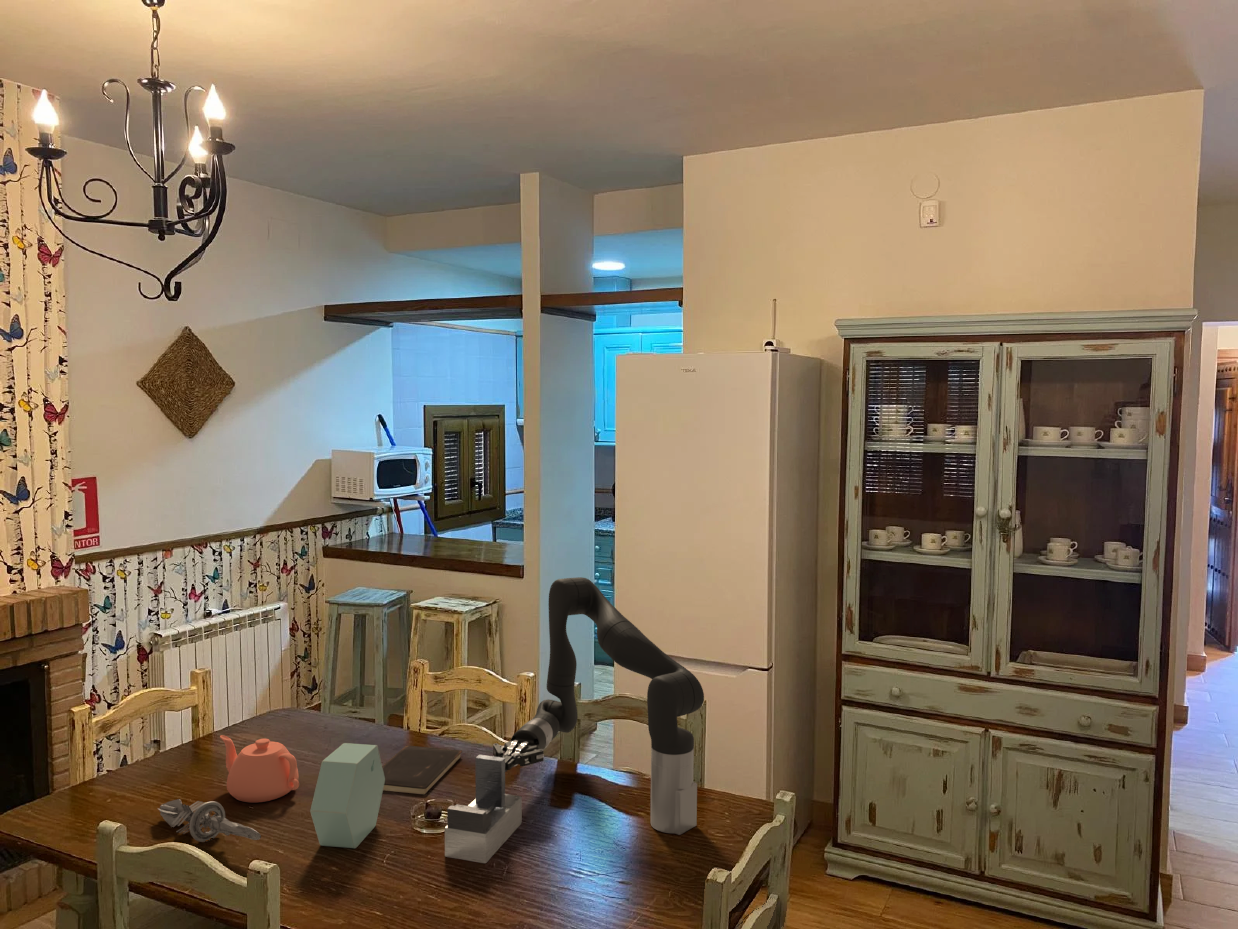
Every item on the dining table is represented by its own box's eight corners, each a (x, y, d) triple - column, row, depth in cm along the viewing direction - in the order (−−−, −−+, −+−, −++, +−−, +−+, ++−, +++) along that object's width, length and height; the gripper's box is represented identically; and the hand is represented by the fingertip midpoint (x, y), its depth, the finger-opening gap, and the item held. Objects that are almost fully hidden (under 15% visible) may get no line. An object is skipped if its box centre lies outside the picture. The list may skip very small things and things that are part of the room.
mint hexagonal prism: (336, 850, 191) (357, 751, 201) (370, 853, 190) (390, 753, 200) (302, 840, 176) (327, 734, 186) (339, 843, 175) (363, 736, 185)
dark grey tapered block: (479, 800, 191) (479, 754, 190) (505, 804, 189) (505, 758, 189) (455, 822, 181) (455, 774, 180) (482, 827, 179) (482, 778, 178)
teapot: (197, 798, 205) (195, 745, 205) (246, 772, 220) (245, 722, 219) (275, 813, 198) (274, 758, 197) (320, 785, 213) (319, 734, 212)
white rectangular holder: (483, 817, 197) (483, 773, 196) (521, 823, 194) (521, 778, 194) (444, 856, 180) (444, 808, 179) (485, 863, 177) (485, 814, 177)
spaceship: (236, 835, 172) (268, 805, 178) (136, 808, 191) (168, 782, 197) (253, 866, 174) (283, 836, 180) (153, 836, 193) (184, 810, 199)
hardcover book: (462, 759, 231) (462, 750, 230) (425, 797, 208) (425, 787, 208) (404, 753, 234) (404, 745, 234) (362, 790, 211) (362, 781, 211)
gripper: (506, 720, 213) (474, 747, 196) (558, 726, 209) (530, 754, 193) (506, 751, 213) (474, 780, 197) (558, 757, 210) (530, 788, 193)
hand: (502, 767), depth 195 cm, fingers closed
